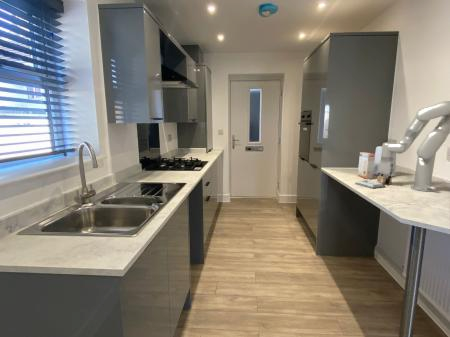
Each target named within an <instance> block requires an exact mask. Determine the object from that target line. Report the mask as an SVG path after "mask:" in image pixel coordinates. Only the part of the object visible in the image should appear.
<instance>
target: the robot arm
mask: <svg viewBox="0 0 450 337" xmlns="http://www.w3.org/2000/svg"><path fill="white" fill-rule="evenodd" d="M437 118H441V119H440V120H439V122H438V123H437V124H436V126H435V127H434V129H433V130H431V131H430V132H428V135H426V137H425V139H423V141H422V143H421V144H420V145H419V146H418V148H417V149H416V155H417V158H416V165H415V172H414V181H413V185H410V190H413V191H414V190H415V191H418V192H420V191H421V192H433V191H436V190H437V186H434V184H433V183H432V180H433V174H434V166H435V161H436V155H437V152H438V151H439V149H441V147H442V146H443V144H444V143H445V142H446V140H447V138H448V137H449V135H450V100H447V101H446V100H445V101H442V102H438V103H435V104H432V105H429V106H426V107H423V108H421V109H419V110H417V112H416V113H415V117H414V118H413V119H412V120H411V122H410V123H409V124H408V126H407V127H406V130H405V133H404V134H403V136H402V138H401V139H400V140H399V141H398V142H397V143H396V142H395V143H394V142H383V143H382V144H383V145H381V146H382V154H381V160H380V163H379V167H378V170H377V172H376V173H377V174H378V175H379V176H383V175H384V174H385V175H386V176H387V179H386V183H385V184H389V182H390V179H391V178H392V179H393V177H395V176H396V174H395V175H394V162H393V160H394V159H393V153H396V154H398V155H399V154H404V153H406V152H407V151H408V150H409V148H410V147H411V146H412V145H413V143H414V142H415V140H416V139H418V136H419V135H420V134H421V133H422V132H423V130H424V129H425V127H426V126H427V125H428V124H429V123H430V121H431V120H434V119H437ZM381 174H382V175H381ZM388 175H389V177H388Z"/></svg>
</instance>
